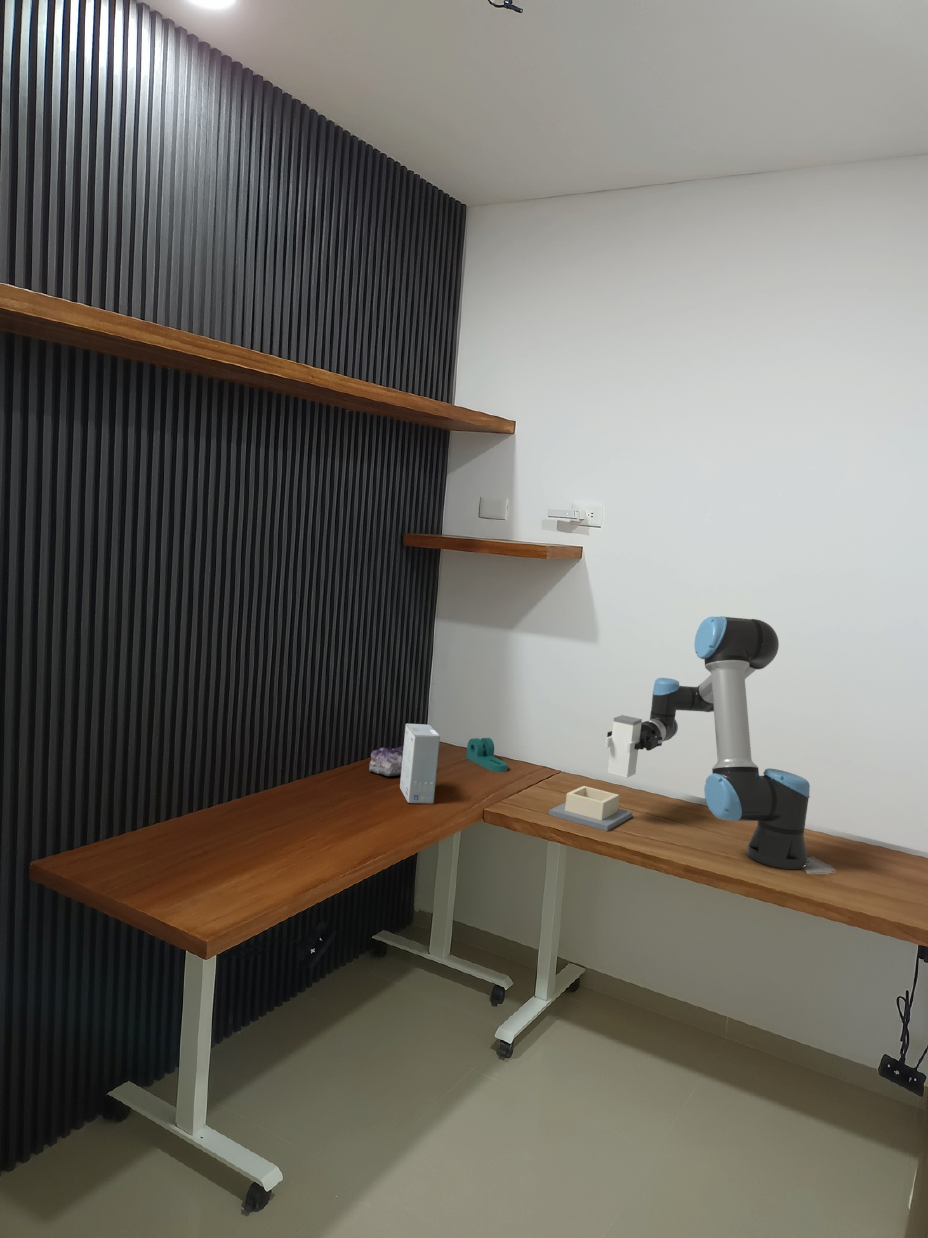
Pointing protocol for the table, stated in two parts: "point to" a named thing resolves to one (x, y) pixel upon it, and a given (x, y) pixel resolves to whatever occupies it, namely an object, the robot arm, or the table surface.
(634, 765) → the white grey-topped block
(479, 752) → the bracket
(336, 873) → the table surface
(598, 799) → the holder
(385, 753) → the geode
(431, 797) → the hard drive box
